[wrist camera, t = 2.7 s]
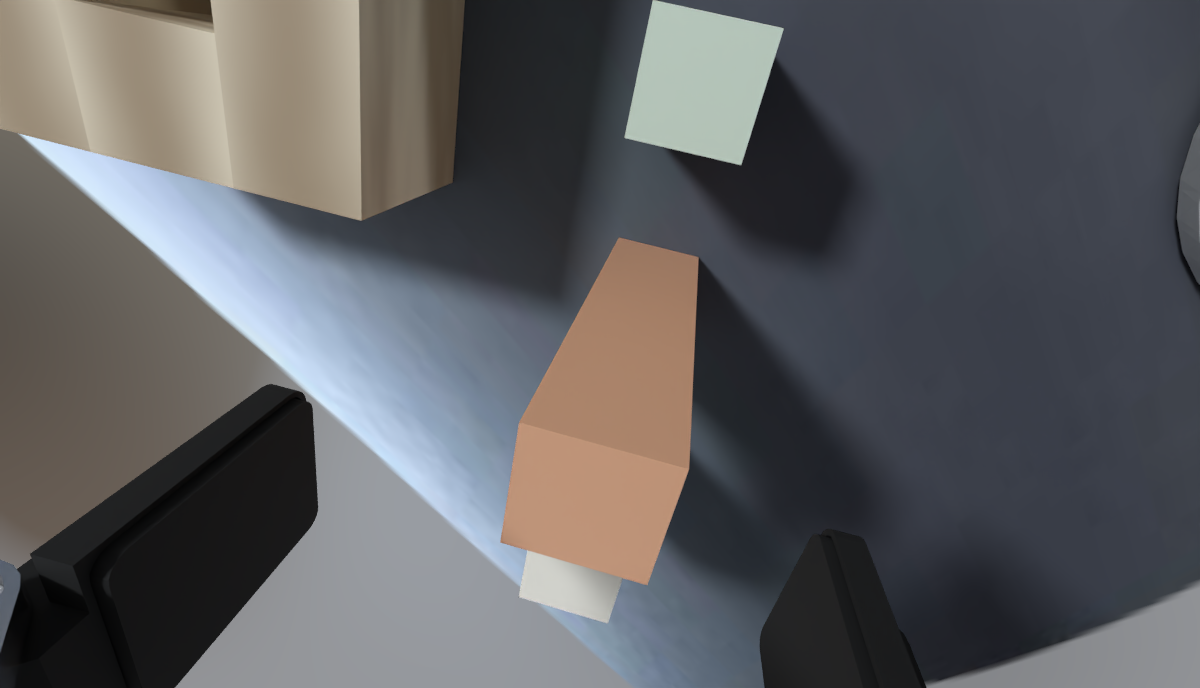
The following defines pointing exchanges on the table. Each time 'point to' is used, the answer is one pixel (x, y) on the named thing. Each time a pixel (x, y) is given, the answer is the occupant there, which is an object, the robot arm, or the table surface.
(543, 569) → the medium pin
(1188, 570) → the table surface
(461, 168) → the table surface
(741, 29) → the short pin
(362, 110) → the hole block
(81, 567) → the robot arm
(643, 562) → the tan bar
